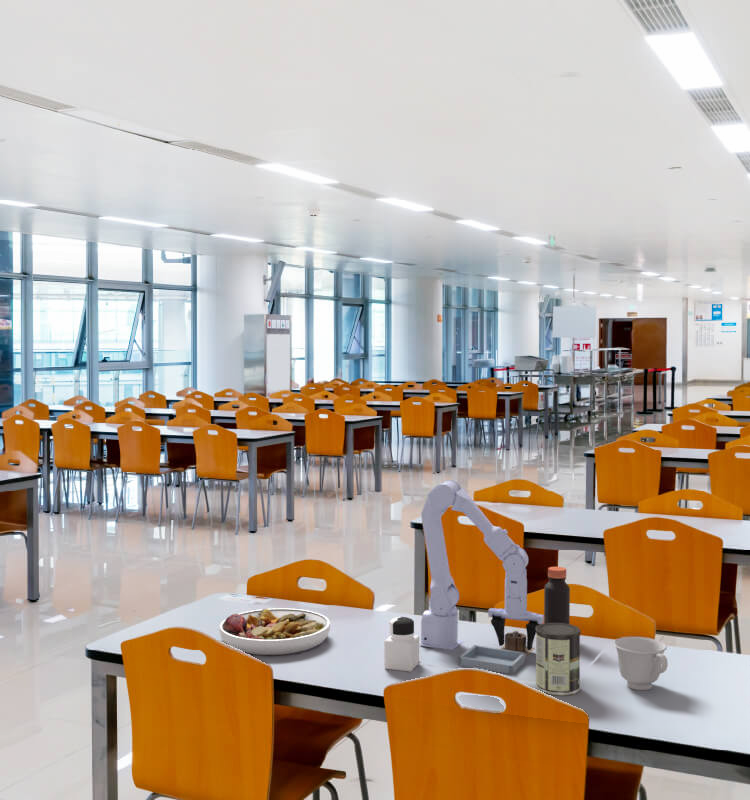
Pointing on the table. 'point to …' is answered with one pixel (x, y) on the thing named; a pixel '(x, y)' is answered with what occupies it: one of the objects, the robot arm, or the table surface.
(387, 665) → the medicine bottle
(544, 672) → the coffee can
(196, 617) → the table surface
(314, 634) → the bowl
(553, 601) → the vinegar
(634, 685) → the teacup
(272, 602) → the table surface
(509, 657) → the tray
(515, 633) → the post stand
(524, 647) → the collar
